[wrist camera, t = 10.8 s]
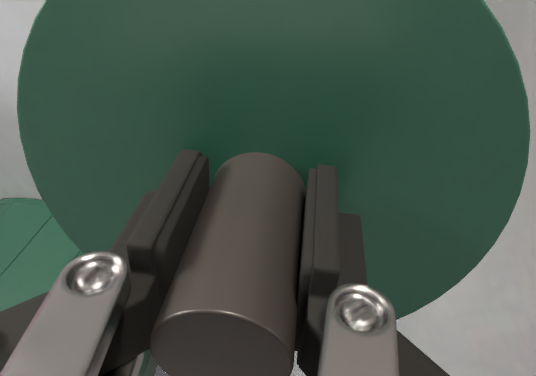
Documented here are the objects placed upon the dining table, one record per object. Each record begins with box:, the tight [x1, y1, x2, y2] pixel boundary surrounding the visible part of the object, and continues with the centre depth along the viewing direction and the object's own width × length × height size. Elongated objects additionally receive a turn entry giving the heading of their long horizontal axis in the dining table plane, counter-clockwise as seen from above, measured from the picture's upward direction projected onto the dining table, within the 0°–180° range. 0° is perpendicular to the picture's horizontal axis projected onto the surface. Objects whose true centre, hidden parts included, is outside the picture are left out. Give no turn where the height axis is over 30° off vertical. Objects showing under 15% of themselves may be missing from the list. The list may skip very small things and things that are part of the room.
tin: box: [0, 198, 158, 376], centre depth 22 cm, size 14×14×8 cm
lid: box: [17, 0, 530, 376], centre depth 11 cm, size 15×15×7 cm
